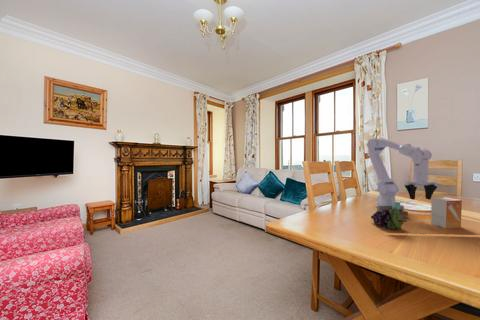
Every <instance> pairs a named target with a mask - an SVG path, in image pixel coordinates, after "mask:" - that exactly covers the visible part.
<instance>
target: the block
mask: <svg viewBox="0 0 480 320" xmlns="http://www.w3.org/2000/svg"><path fill="white" fill-rule="evenodd" d="M385 209H390V208H385ZM391 209H392V208H391ZM399 212H400V214H401V216H402V217H403V218H409V216H408V215H409V213H408V212H409V211H407V210H405V209H404V210H402V209H400V211H399Z"/></svg>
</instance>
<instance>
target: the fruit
mask: <svg viewBox="0 0 480 320" xmlns="http://www.w3.org/2000/svg"><path fill="white" fill-rule="evenodd" d="M370 218H371V219H372V220H373V222H374V223H375V225H378V226H382V227H383V229H387V230H388V229H389V230H390V229H391V230H394V229H397V230H402V225H404V223H405V222H408V220H407V219H405V220H404V219H403V217H402V216H401V214H400V212H399V211H398V210H397V209H396V208H394V209H393V210H392V209H391V208H390V209H383V210H382V212H379V211H377V210H376V211H375V212H374V213H373V214H372V215H371V216H370Z"/></svg>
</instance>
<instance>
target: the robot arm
mask: <svg viewBox="0 0 480 320" xmlns="http://www.w3.org/2000/svg"><path fill="white" fill-rule="evenodd" d="M366 147H367V149H368V151H367V153H368V156H369V159H370V161H371V163H372V167H373V169H374V172H375V173H376V177H377V179H378V181H376V187H377V189H376V190H377V192H378V193H379V194H378V195H377V197H376V206H374V207H375V208H377V205H392V202H396V195H397V193H398V192H399V190H400V189H399V186H398V185H397V184H396V183H395V181H394V180H393V179H392V178H391V177H390V176H389V173H388V171H387V168H386V167H385V164H384V162H383V160H382V157H381V155H380V154H381V153H382V152H383V151H384V150H385V149H386V148H387V147H388V148H390V149H393V150H397V151H398V152H399V154H401V155H403V156H406V157H409V158H411V160H412V163H413V169H412V170H413V173H412V175H413V176H412V180H404V187H405V189H406V191H407V192H408V195H409V199H411V200H415V199H416V190H417V188H418V187H417V186H423V188H424V193H425V195H424V196H425V199H426V200H428V201H429V200H432V198H433V197H432V196H433V194H434V192H435V191H436V190H437V189H438V181H435V180H434V181H433V180H429V160H430V159H431V158H432V152H431V151H430V150H428V149H424V148H423V149H421V147H418V146H417V147H416V146H413V145H412V144H411V143H407V144H406V143H405V144H401V143H398V142H395V141H393V140H390V139H388V138H383V137H382V138H381V137H380V138H376V137H375V138H374V137H371V138H369V139H368V141H367V143H366Z"/></svg>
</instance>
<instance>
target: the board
mask: <svg viewBox="0 0 480 320" xmlns="http://www.w3.org/2000/svg"><path fill="white" fill-rule="evenodd" d="M376 206H377V207H376V212H377V211H379V212H382V210H383V209H385V208H392V205H377V204H376ZM404 208H405V206H404V205H401V204H400V209H402V210H404V211H405V209H404Z"/></svg>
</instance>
